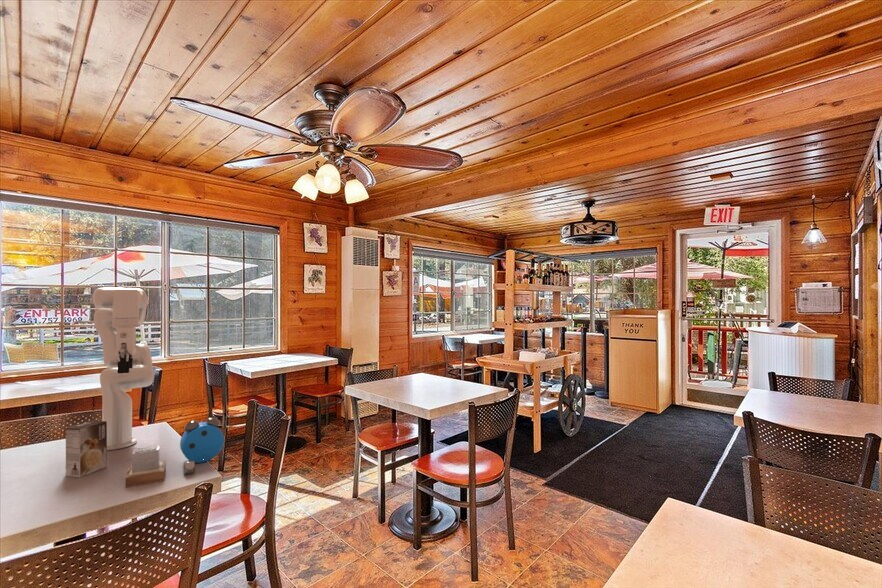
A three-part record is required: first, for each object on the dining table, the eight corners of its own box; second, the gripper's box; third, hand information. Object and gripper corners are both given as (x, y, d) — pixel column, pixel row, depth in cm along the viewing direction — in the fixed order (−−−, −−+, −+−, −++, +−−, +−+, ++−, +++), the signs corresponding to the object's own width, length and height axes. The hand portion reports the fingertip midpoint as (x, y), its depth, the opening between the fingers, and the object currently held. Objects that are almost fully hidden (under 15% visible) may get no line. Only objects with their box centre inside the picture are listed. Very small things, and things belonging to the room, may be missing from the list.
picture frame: (129, 475, 139) (129, 465, 139) (165, 469, 144) (165, 460, 144) (125, 487, 130) (125, 476, 130) (163, 480, 136) (163, 470, 136)
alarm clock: (219, 453, 159) (220, 414, 159) (224, 458, 154) (224, 417, 154) (179, 462, 150) (179, 420, 151) (182, 467, 146) (183, 424, 146)
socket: (183, 473, 141) (183, 461, 141) (194, 471, 143) (194, 459, 143) (183, 476, 139) (183, 464, 139) (194, 474, 140) (194, 462, 140)
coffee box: (92, 465, 148) (93, 419, 148) (107, 467, 147) (108, 420, 147) (64, 476, 139) (65, 427, 139) (80, 477, 138) (80, 428, 138)
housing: (133, 467, 138) (134, 448, 138) (159, 463, 141) (159, 444, 141) (131, 472, 134) (132, 453, 134) (158, 468, 137) (158, 449, 137)
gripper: (136, 324, 145) (135, 373, 144) (141, 321, 159) (140, 366, 159) (108, 324, 141) (107, 375, 141) (116, 321, 156) (115, 368, 155)
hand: (125, 370), depth 150 cm, fingers open, 9 cm apart
